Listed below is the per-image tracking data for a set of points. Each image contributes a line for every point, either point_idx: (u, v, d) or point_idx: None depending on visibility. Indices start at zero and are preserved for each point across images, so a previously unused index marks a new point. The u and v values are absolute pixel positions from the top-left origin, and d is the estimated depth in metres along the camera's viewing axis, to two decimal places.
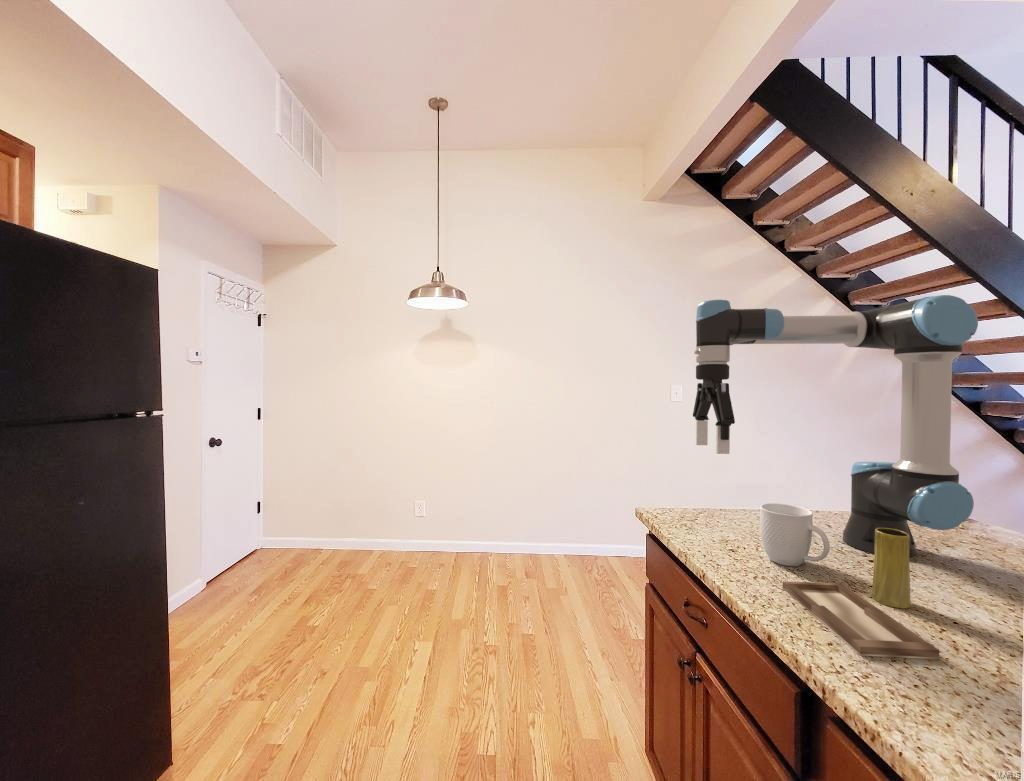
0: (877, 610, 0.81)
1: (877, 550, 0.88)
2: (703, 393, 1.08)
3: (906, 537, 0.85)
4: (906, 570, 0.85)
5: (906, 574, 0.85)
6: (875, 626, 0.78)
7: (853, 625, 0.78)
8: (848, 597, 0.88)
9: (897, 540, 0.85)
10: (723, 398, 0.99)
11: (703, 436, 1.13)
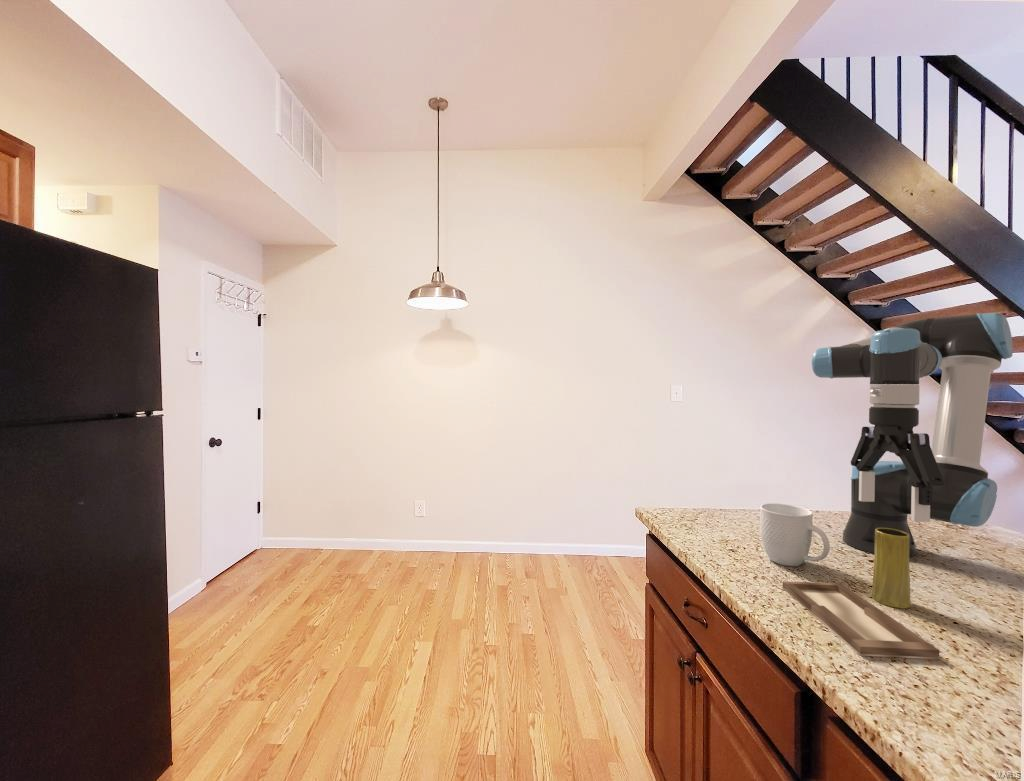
0: (877, 610, 0.81)
1: (877, 550, 0.88)
2: (879, 441, 0.88)
3: (906, 537, 0.85)
4: (906, 570, 0.85)
5: (906, 574, 0.85)
6: (875, 626, 0.78)
7: (853, 625, 0.78)
8: (848, 597, 0.88)
9: (897, 540, 0.85)
10: (923, 453, 0.79)
11: (869, 491, 0.93)
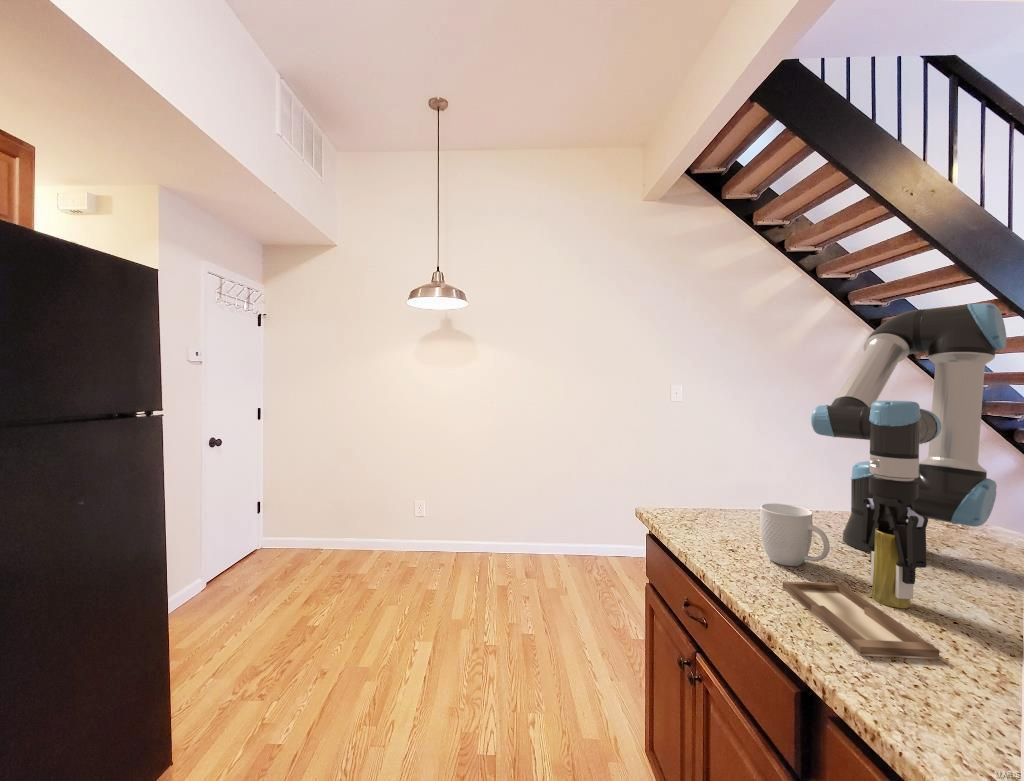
0: (877, 610, 0.81)
1: (877, 550, 0.88)
2: (880, 511, 0.88)
3: None
4: None
5: None
6: (875, 626, 0.78)
7: (853, 625, 0.78)
8: (848, 597, 0.88)
9: None
10: (916, 536, 0.81)
11: None
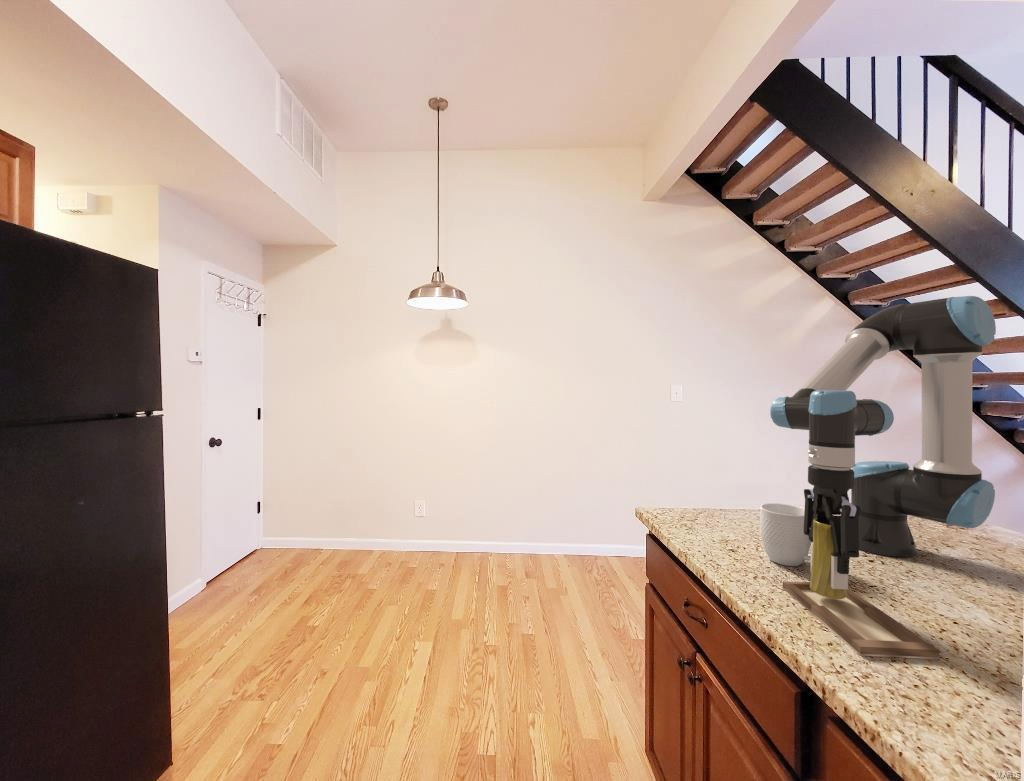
0: (877, 610, 0.81)
1: (814, 540, 0.87)
2: (818, 501, 0.88)
3: None
4: None
5: None
6: (875, 626, 0.78)
7: (853, 625, 0.78)
8: (848, 597, 0.88)
9: None
10: (849, 525, 0.80)
11: None
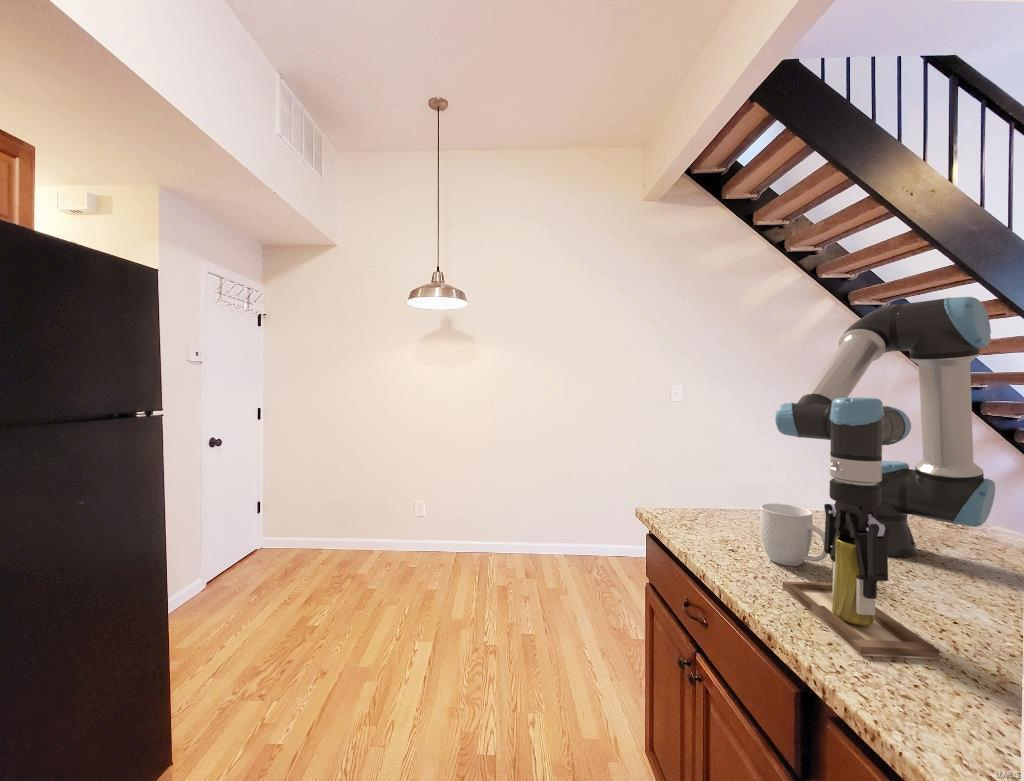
0: (877, 610, 0.81)
1: (837, 561, 0.80)
2: (841, 518, 0.81)
3: None
4: None
5: None
6: (875, 626, 0.78)
7: (853, 625, 0.78)
8: None
9: None
10: (877, 546, 0.73)
11: None
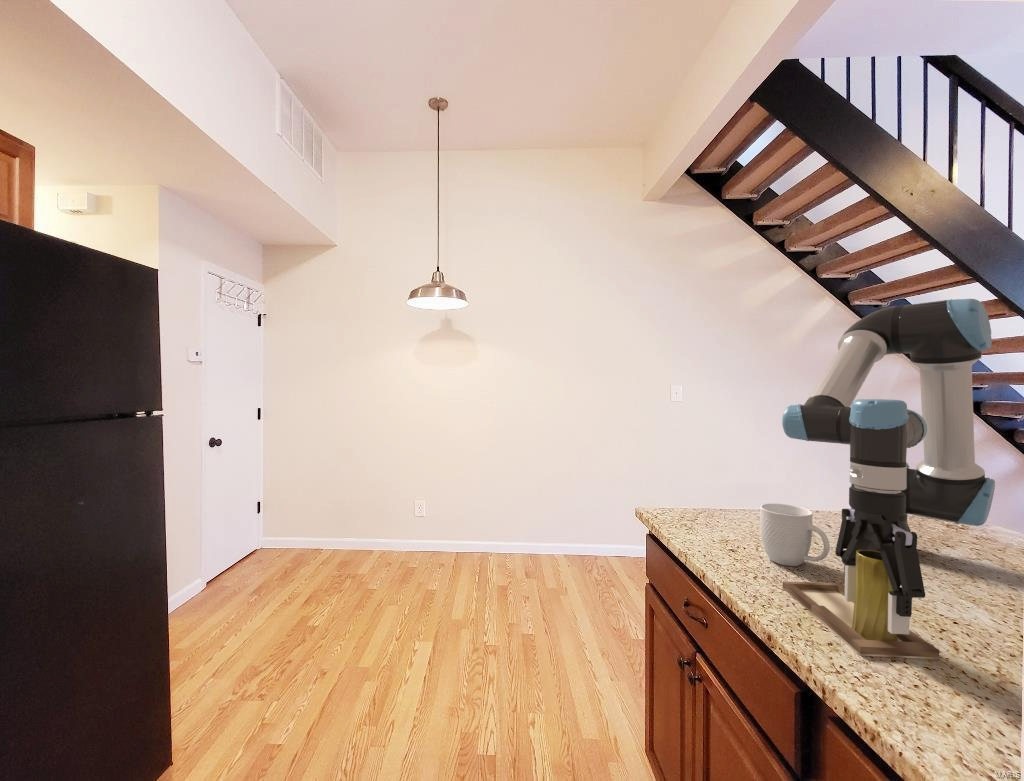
0: None
1: (858, 576, 0.75)
2: (861, 528, 0.76)
3: None
4: None
5: None
6: None
7: None
8: None
9: (881, 566, 0.72)
10: (907, 557, 0.68)
11: None
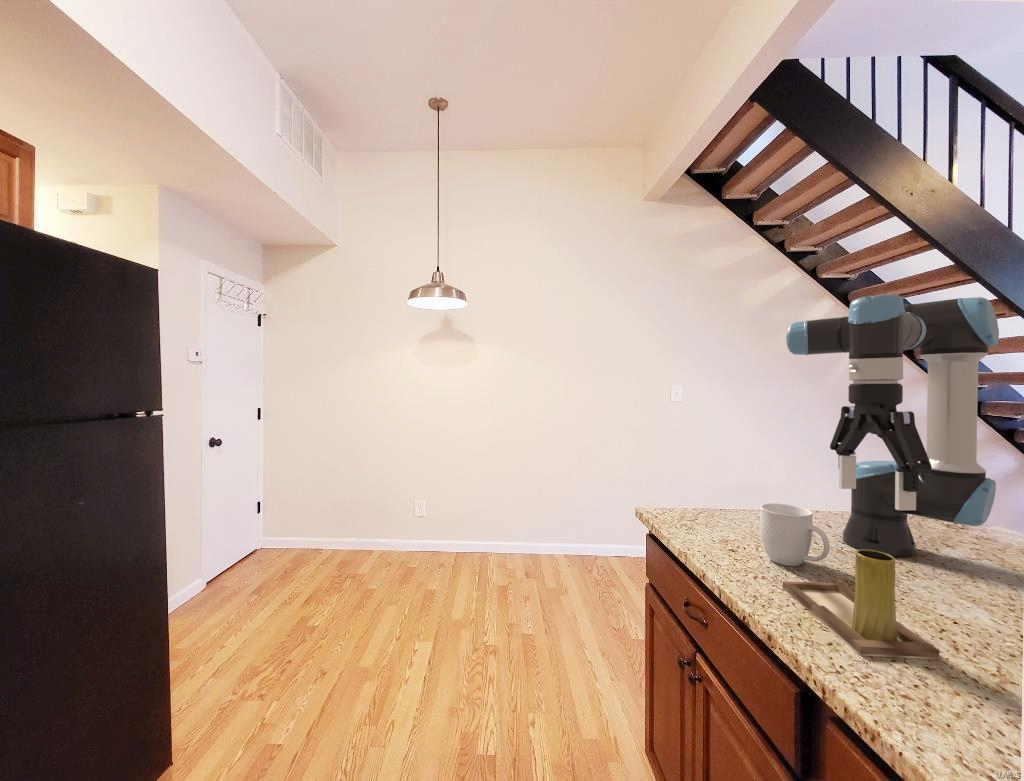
0: None
1: (858, 576, 0.75)
2: (859, 422, 0.79)
3: (891, 562, 0.72)
4: (891, 601, 0.72)
5: (891, 605, 0.72)
6: None
7: None
8: (848, 597, 0.88)
9: (881, 566, 0.72)
10: (907, 433, 0.70)
11: (850, 477, 0.85)
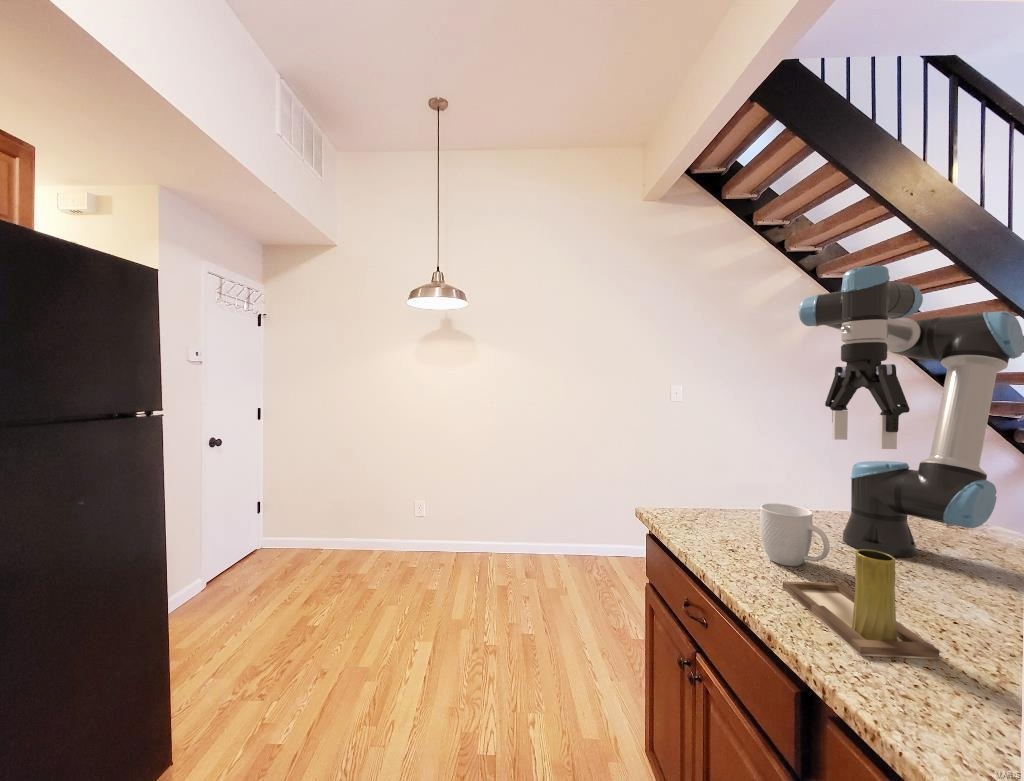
0: None
1: (858, 576, 0.75)
2: (850, 378, 0.91)
3: (891, 562, 0.72)
4: (891, 601, 0.72)
5: (891, 605, 0.72)
6: None
7: None
8: (848, 597, 0.88)
9: (881, 566, 0.72)
10: (890, 382, 0.82)
11: (842, 429, 0.96)
